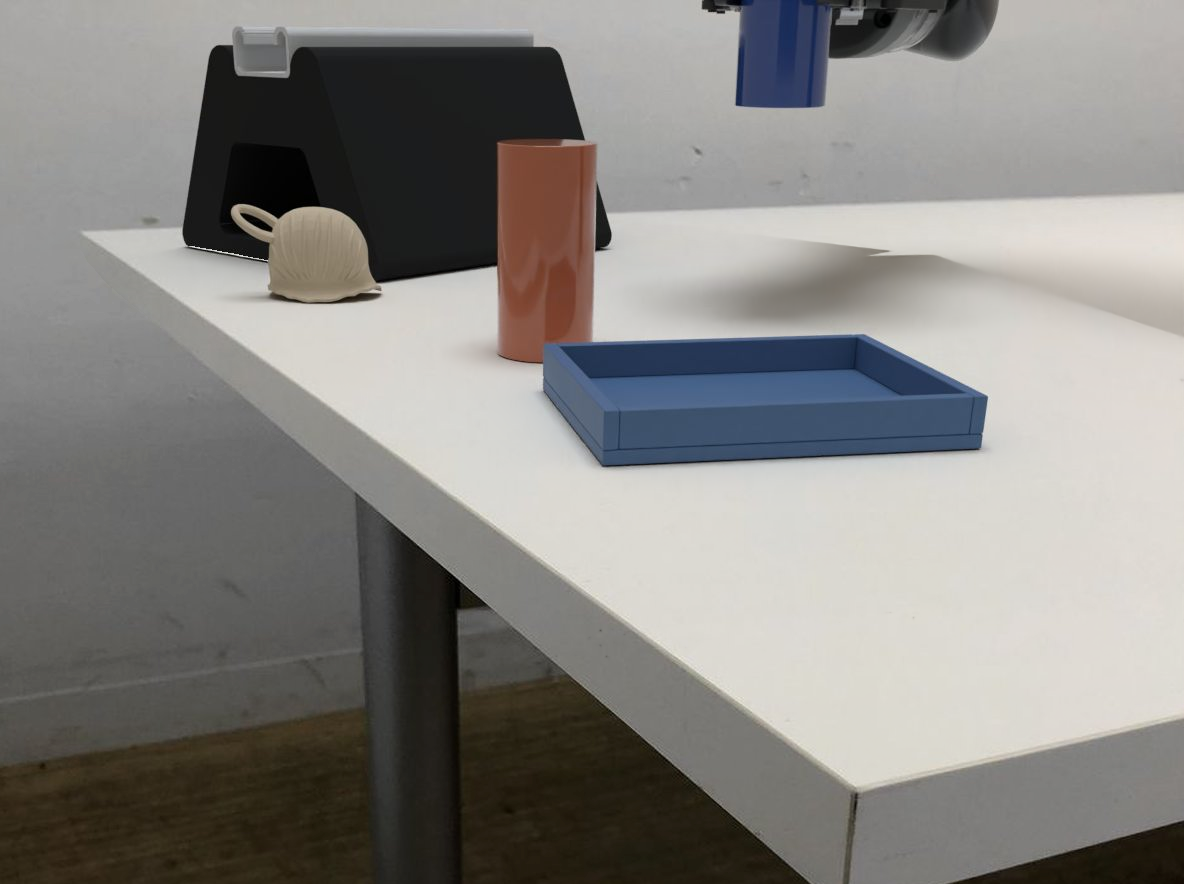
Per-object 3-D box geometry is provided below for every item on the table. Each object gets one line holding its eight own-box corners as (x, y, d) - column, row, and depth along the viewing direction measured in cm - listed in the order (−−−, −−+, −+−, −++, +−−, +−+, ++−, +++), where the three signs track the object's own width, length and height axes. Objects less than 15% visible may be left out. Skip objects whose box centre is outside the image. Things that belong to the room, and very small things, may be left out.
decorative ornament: (370, 304, 82) (367, 210, 80) (232, 300, 83) (225, 207, 81) (384, 292, 86) (381, 202, 84) (252, 289, 86) (245, 199, 84)
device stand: (611, 248, 104) (617, 30, 98) (380, 282, 89) (370, 27, 83) (411, 221, 118) (406, 28, 112) (183, 246, 103) (163, 26, 97)
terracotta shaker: (581, 341, 73) (585, 138, 69) (602, 361, 68) (607, 146, 64) (491, 344, 72) (489, 139, 68) (505, 364, 68) (505, 146, 64)
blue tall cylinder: (806, 104, 77) (821, -100, 73) (838, 107, 73) (855, -108, 69) (723, 104, 76) (733, -101, 73) (750, 108, 72) (763, -110, 68)
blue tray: (860, 378, 65) (865, 333, 65) (981, 448, 54) (989, 395, 54) (542, 389, 63) (543, 343, 62) (602, 466, 52) (604, 410, 51)
